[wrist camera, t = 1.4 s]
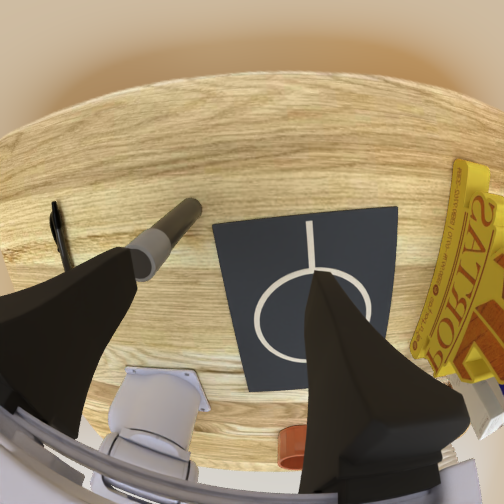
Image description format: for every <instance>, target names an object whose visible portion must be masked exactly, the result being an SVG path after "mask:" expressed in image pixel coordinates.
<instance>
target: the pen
mask: <svg viewBox="0 0 504 504" xmlns="http://www.w3.org/2000/svg"><path fill="white" fill-rule="evenodd" d="M50 228H51V232H52V235H53V238H54V240H55V242H56V244H57V247H58V249H57V250H58V252H59V253H60V255H61V259H62V263H63V267H64V271H65V272H66V271H68V270H70V269H72V267H71V263H70V259H69V255H68V251H67V246H66V242H65V237H64V232H63V226H62V220H61V215H60V210H58V207H57V202H56V201H53V202H52V212H51V214H50Z"/></svg>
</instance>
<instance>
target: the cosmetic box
mask: <svg viewBox="0 0 504 504" xmlns="http://www.w3.org/2000/svg"><path fill="white" fill-rule="evenodd" d="M446 376H447V378H448V380H449V381H450V383H451V385H452V387H453V389H454V390H456V391H457V392H459V393H461V394H462V395H463V398H464V401H465V404H466V407H467V410H468V413H469V416H470V419H471V420H470V423H471V425H472V427H473V429H474V430H475V433H476V435H477V437H478V439H479V440H481V439H484V438H485V437H487V436H488V435H490V434H491V433H493V432H494V431H496V430H497V429H499V428H500V427H502V426H503V425H504V411H503V409H502V407H501V405H500V404H499V402H498V400H497V398H496V396H495V394H494V393H493V391H492V389H491V387H490V386H489V384H488V382H487V381H486V380H482V381H479V382H476V383H473V384H470V383H465V382H461V381H460V379H459V377H458V375H457V374H456V373H455V374H450V375H446Z"/></svg>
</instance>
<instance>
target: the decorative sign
mask: <svg viewBox="0 0 504 504" xmlns="http://www.w3.org/2000/svg"><path fill="white" fill-rule="evenodd" d="M489 182H490V170H489V168H488V167H487V166H485V165H481V164H477V163H474V162H470V161H466V160H462V159H456V160H455V162H454V164H453V174H452V183H451V191H450V198H449V205H448V211H447V217H446V223H445V228H444V233H443V238H442V243H441V247H440V252H439V256H438V260H437V264H436V268H435V271H434V275H433V279H432V282H431V286H430V289H429V292H428V296H427V299H426V302H425V305H424V308H423V311H422V314H421V317H420V320H419V322H418V325H417V328H416V331H415V333H414V336H413V338H412V341H411V344H410V352H411V354H412V356H413V358H414V359H419V358H425V359H428V361H429V363H430V365H431V367H432V369H433V371H434V373H433V376H434V378H436V377H441V376H446V375H450V374H455V373H456V374H457V375H458V377H459V379H460V381H461V382H465V383H470V384H473V383H476V382H479V381H482V380H486V379H488V378H491V377H495V379H496V380H497V382H498V383H499V384H504V197H503V196H500V195H495V194H491V193H488V190H489Z"/></svg>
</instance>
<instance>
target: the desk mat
mask: <svg viewBox="0 0 504 504" xmlns="http://www.w3.org/2000/svg"><path fill="white" fill-rule="evenodd" d="M397 227H398V207H397V206H395V207H381V208H367V209H355V210H343V211H332V212H321V213H310V214H300V215H290V216H281V217H272V218H262V219H254V220H245V221H236V222H228V223H220V224H213V225H212V228H213V233H214V238H215V243H216V248H217V253H218V258H219V263H220V267H221V272H222V277H223V282H224V286H225V291H226V296H227V300H228V305H229V309H230V314H231V318H232V323H233V327H234V331H235V336H236V340H237V344H238V348H239V353H240V357H241V361H242V365H243V369H244V373H245V377H246V381H247V386H248V389H249V392H263V391H281V390H295V389H306V388H308V375H307V363H306V352H305V341H304V316H305V308H306V304H307V300H308V296H309V291H310V287H311V283H312V278H313V273H314V270H318V271H327V272H331V273H332V275H333V276H334V277H335V279H336V280H337V282H338V283H339V284H340V286H341V287H342V289H343V290H344V291H345V293H346V294H347V295H348V297H349V298H350V299H351V301H352V302H353V303H354V305H355V306H356V307H357V308H358V310H359V311H360V312H361V313H362V315H363V316H364V317H365V318H366V319H367V320H368V321H369V323H370V324H371V325H372V326H373V327H374V328H375V329H376V330H377V331H378V332H379V333H380V334H381V335H382V336H383V337H384V338H385V337H386V331H387V326H388V319H389V313H390V306H391V299H392V291H393V282H394V272H395V261H396V247H397Z"/></svg>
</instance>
